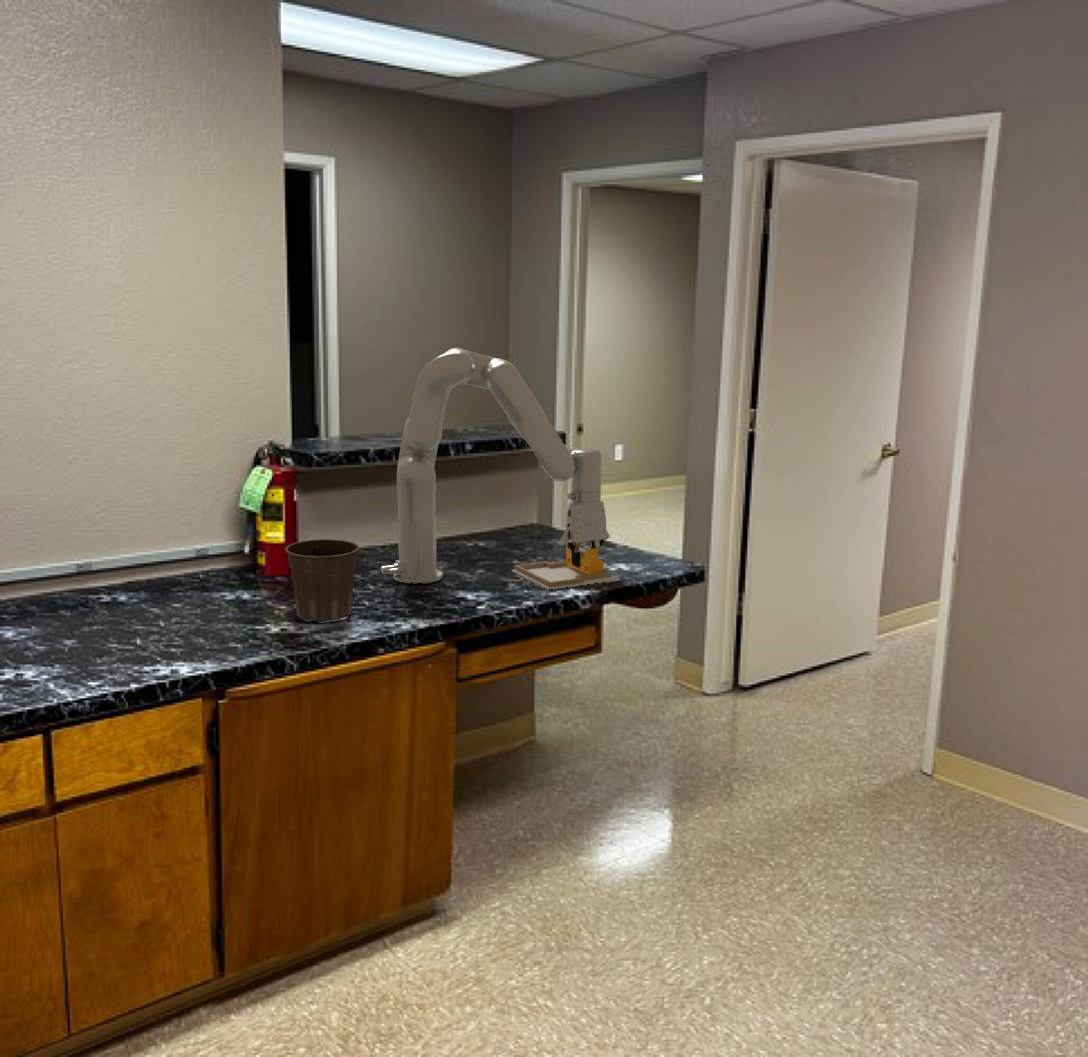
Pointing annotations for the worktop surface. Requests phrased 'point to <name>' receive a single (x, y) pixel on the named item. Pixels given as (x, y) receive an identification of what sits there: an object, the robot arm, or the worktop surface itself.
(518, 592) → the worktop surface
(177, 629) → the worktop surface
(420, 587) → the worktop surface
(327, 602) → the plant pot
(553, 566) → the shallow rimmed tray
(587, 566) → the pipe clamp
